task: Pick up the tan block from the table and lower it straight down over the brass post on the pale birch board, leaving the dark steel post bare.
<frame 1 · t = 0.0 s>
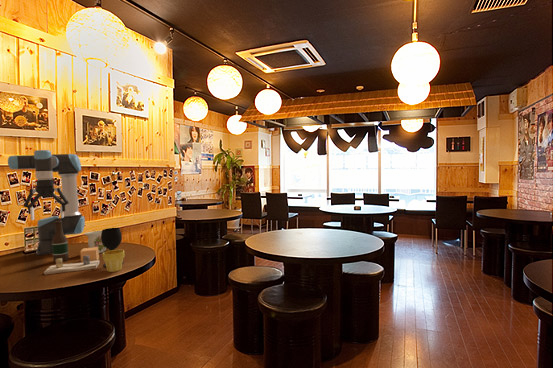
hand: (47, 218, 181), 28 cm above the table, fingers open, 13 cm apart
beer bottle: (61, 261, 201), on the table
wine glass: (113, 264, 189), on the table
pitcher: (100, 252, 220), on the table
tan block: (90, 260, 198), on the table
plant pot: (114, 270, 178), on the table
post board: (73, 268, 184), on the table
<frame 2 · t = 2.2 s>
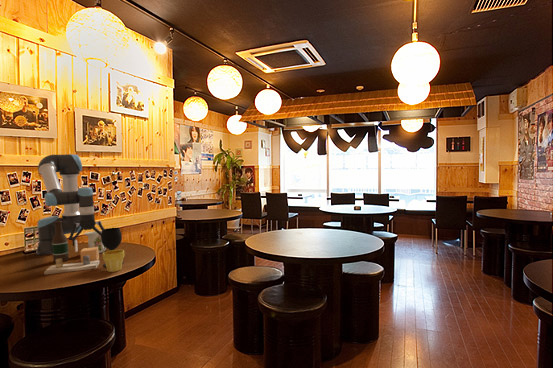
hand: (89, 249, 198), 7 cm above the table, fingers open, 13 cm apart
nothing on the table moved.
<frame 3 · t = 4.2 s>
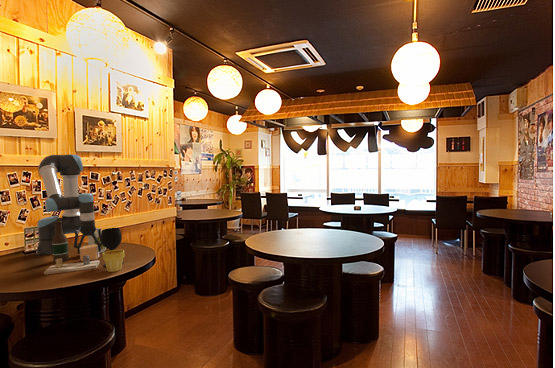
hand: (90, 258, 198), 2 cm above the table, fingers closed on tan block, 8 cm apart
tan block: (90, 258, 199), point 1 cm above the table, touching gripper
everything else where it was.
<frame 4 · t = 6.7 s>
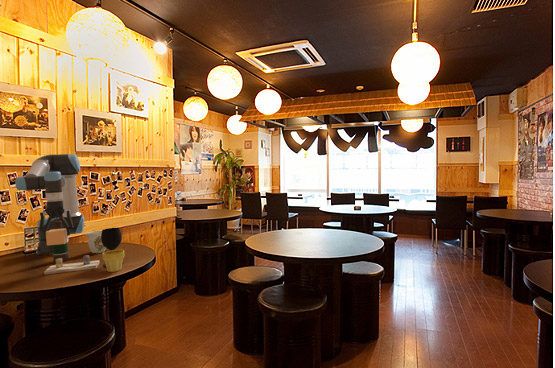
hand: (57, 242, 181), 15 cm above the table, fingers closed on tan block, 8 cm apart
tan block: (57, 243, 181), point 15 cm above the table, touching gripper
everything else where it was.
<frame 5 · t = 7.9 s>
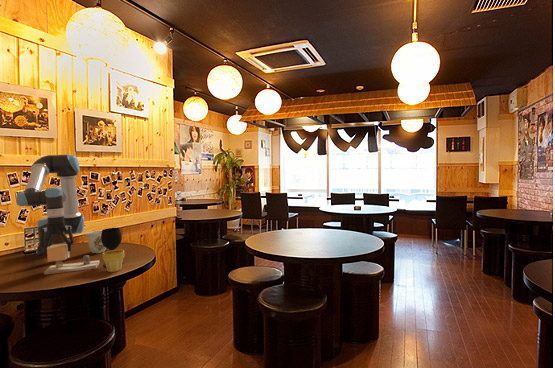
hand: (58, 258, 181), 6 cm above the table, fingers closed on tan block, 8 cm apart
tan block: (58, 258, 182), point 6 cm above the table, touching gripper
everything else where it was.
when the fingers open (3 cm above the table, at t = 9.0 s): tan block drops 1 cm, resting on post board.
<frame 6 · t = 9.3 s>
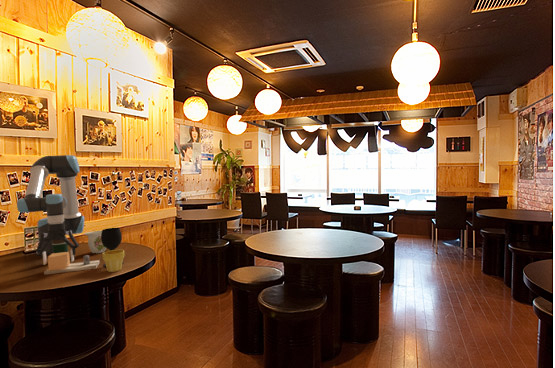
hand: (59, 262, 182), 4 cm above the table, fingers open, 12 cm apart
tan block: (59, 267, 182), point 1 cm above the table, touching post board
everything else where it was.
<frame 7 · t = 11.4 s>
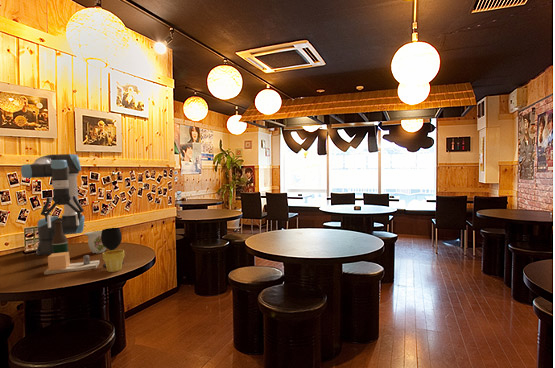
hand: (63, 226, 186), 23 cm above the table, fingers open, 13 cm apart
nothing on the table moved.
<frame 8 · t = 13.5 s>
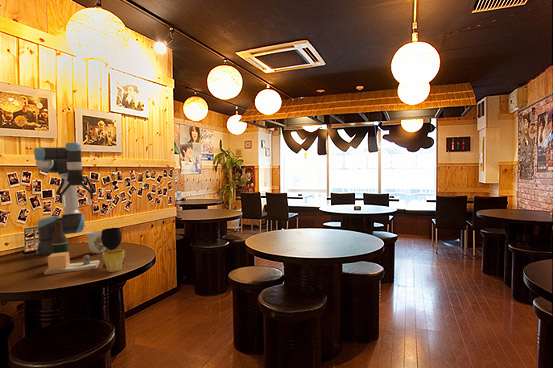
hand: (77, 205, 197), 33 cm above the table, fingers open, 13 cm apart
nothing on the table moved.
at the end: tan block 0.2 cm from the target spot on the post board, point 1.5 cm above the post board's base; tan block tilted 0°; the gripper is holding nothing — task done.
